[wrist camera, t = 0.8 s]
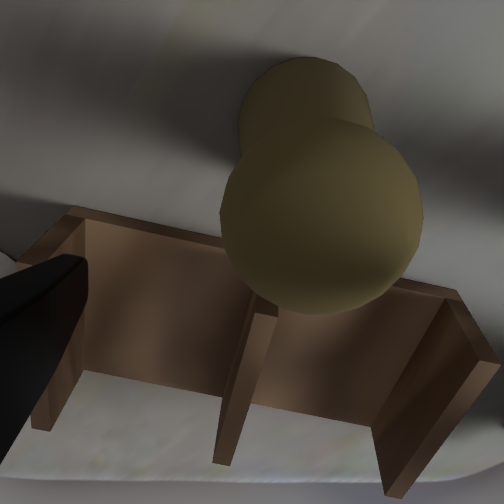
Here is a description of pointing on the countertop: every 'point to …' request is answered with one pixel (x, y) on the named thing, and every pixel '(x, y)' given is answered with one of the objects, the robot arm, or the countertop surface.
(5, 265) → the grey pointed block
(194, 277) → the rack
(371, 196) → the olive bottle gourd
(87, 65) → the countertop surface
